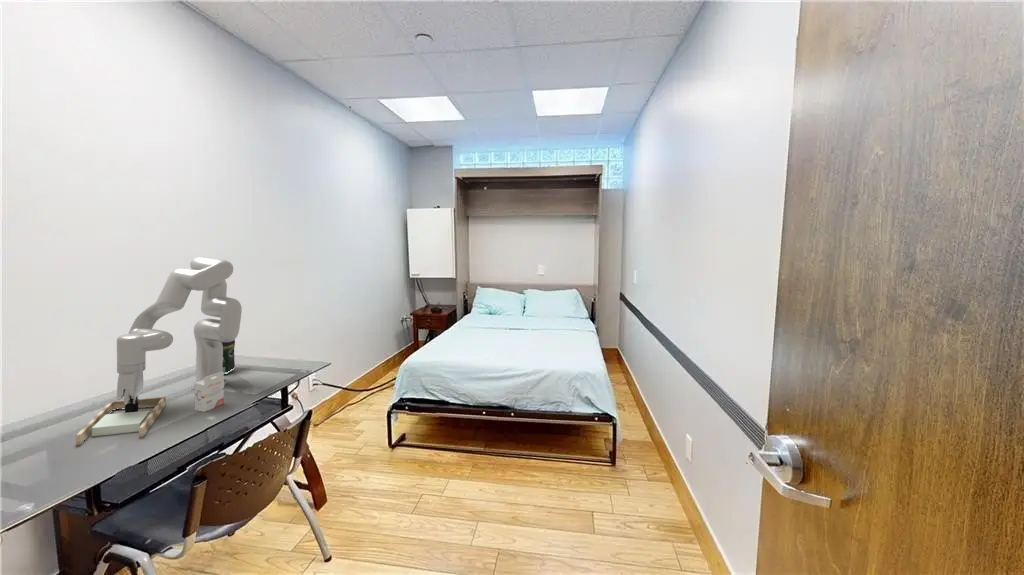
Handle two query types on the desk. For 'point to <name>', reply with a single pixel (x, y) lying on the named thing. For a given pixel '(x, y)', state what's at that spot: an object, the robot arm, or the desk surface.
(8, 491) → the desk surface
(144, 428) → the wooden frame
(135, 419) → the cover plate
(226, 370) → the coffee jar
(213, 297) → the robot arm
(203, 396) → the ink cartridge box
